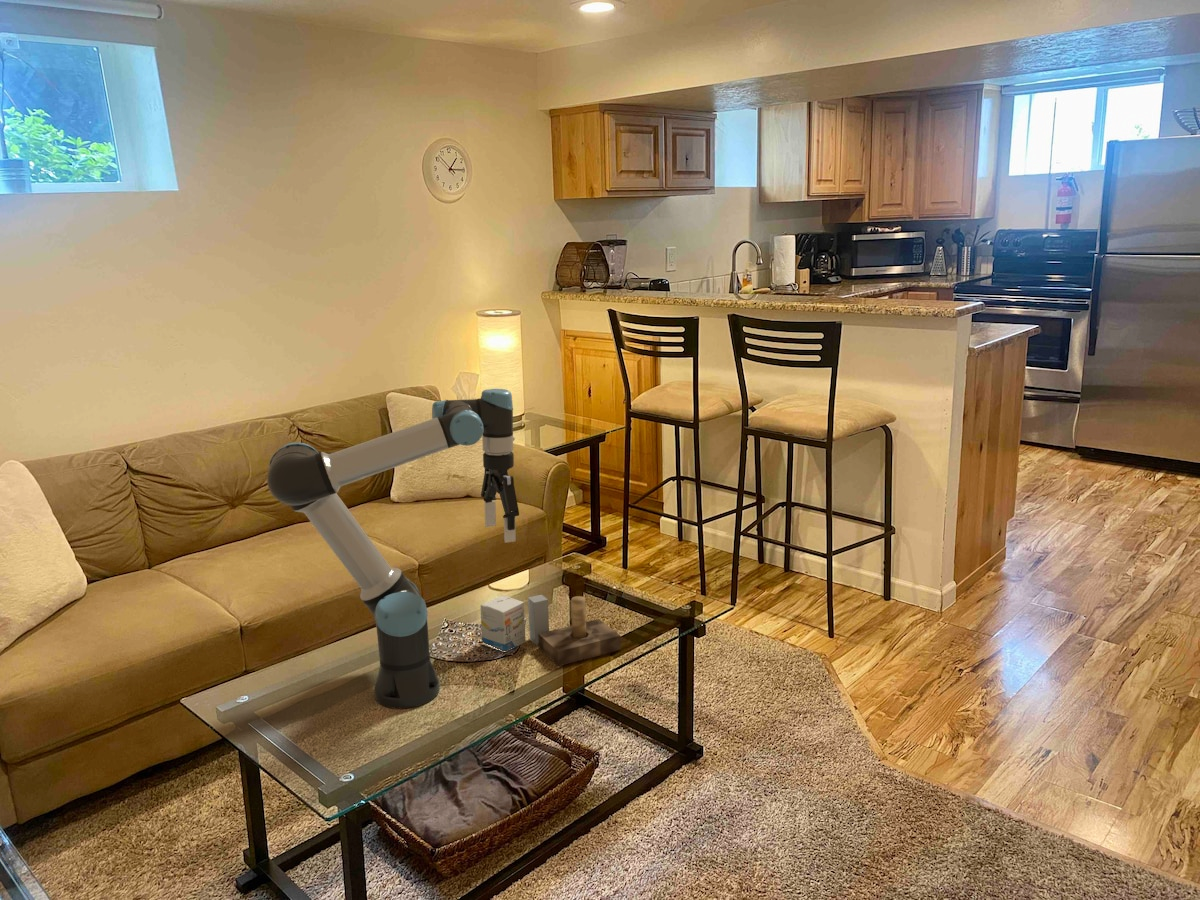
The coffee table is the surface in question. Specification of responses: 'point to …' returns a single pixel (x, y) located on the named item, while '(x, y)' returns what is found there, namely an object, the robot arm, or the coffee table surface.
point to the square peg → (538, 617)
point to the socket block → (579, 643)
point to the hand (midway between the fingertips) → (500, 533)
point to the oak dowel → (578, 617)
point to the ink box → (503, 623)
